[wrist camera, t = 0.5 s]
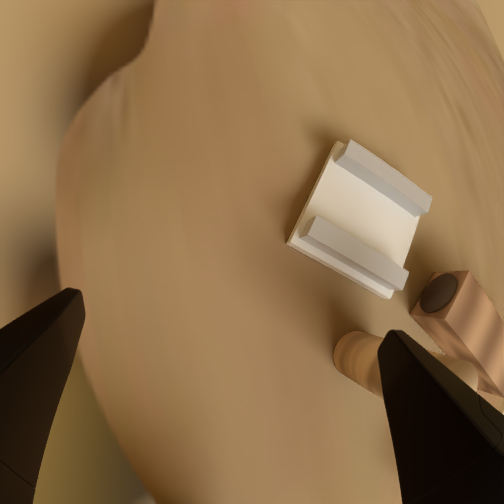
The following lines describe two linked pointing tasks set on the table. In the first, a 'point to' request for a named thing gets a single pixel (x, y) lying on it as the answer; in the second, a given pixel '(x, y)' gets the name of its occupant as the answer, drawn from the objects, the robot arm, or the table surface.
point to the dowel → (367, 368)
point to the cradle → (361, 219)
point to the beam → (464, 325)
